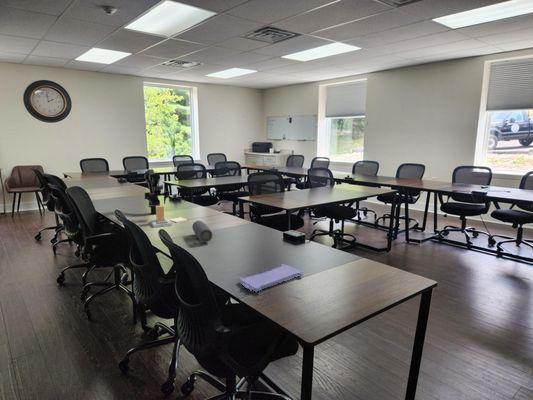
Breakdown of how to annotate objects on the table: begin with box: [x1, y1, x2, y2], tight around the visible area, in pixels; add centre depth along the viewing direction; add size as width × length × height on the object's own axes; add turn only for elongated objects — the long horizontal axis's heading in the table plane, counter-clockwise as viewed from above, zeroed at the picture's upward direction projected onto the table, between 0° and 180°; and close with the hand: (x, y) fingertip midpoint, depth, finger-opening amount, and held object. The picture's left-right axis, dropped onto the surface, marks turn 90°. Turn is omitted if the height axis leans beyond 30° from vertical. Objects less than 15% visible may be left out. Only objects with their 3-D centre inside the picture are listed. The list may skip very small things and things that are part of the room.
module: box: [155, 205, 165, 222], centre depth 253 cm, size 5×5×13 cm
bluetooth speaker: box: [191, 220, 213, 243], centre depth 216 cm, size 23×9×10 cm, turn 23°
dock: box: [150, 217, 173, 228], centre depth 252 cm, size 18×13×2 cm
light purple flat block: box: [238, 263, 304, 292], centre depth 156 cm, size 30×4×15 cm
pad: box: [169, 216, 188, 223], centre depth 263 cm, size 10×10×1 cm
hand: (158, 204), depth 259 cm, fingers open, 9 cm apart
